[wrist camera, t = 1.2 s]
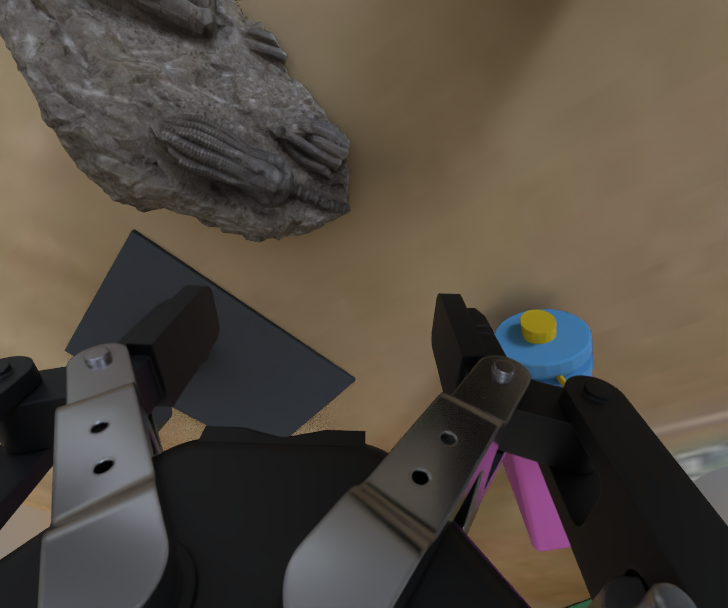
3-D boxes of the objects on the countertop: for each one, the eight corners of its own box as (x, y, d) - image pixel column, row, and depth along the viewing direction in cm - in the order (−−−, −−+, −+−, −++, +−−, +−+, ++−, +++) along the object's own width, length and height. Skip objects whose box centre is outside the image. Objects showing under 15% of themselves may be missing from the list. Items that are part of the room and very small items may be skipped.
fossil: (405, 161, 24) (242, 319, 20) (353, 201, 33) (232, 316, 28) (142, -186, 18) (-178, -73, 14) (164, -23, 27) (-26, 78, 23)
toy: (573, 458, 46) (652, 599, 33) (503, 471, 48) (552, 611, 35) (555, 278, 33) (674, 395, 20) (460, 305, 35) (513, 429, 22)
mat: (67, 348, 38) (64, 350, 38) (134, 229, 31) (131, 230, 31) (266, 453, 47) (266, 456, 46) (355, 378, 40) (355, 380, 39)
